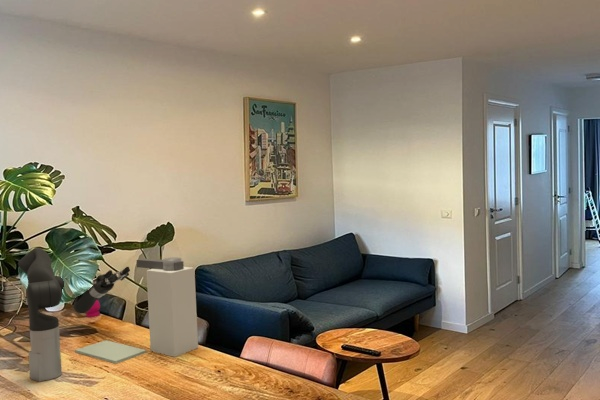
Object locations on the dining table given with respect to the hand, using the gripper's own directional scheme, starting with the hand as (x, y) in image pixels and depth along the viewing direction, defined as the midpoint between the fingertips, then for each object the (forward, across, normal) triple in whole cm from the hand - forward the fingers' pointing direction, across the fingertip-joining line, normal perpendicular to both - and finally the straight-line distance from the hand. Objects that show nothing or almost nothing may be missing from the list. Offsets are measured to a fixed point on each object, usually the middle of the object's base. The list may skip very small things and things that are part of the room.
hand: (120, 270), depth 227 cm
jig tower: (+11, +1, +41) cm, 42 cm away
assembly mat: (-6, -14, +30) cm, 34 cm away
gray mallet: (+22, +1, +10) cm, 24 cm away
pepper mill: (-56, +17, +2) cm, 59 cm away
